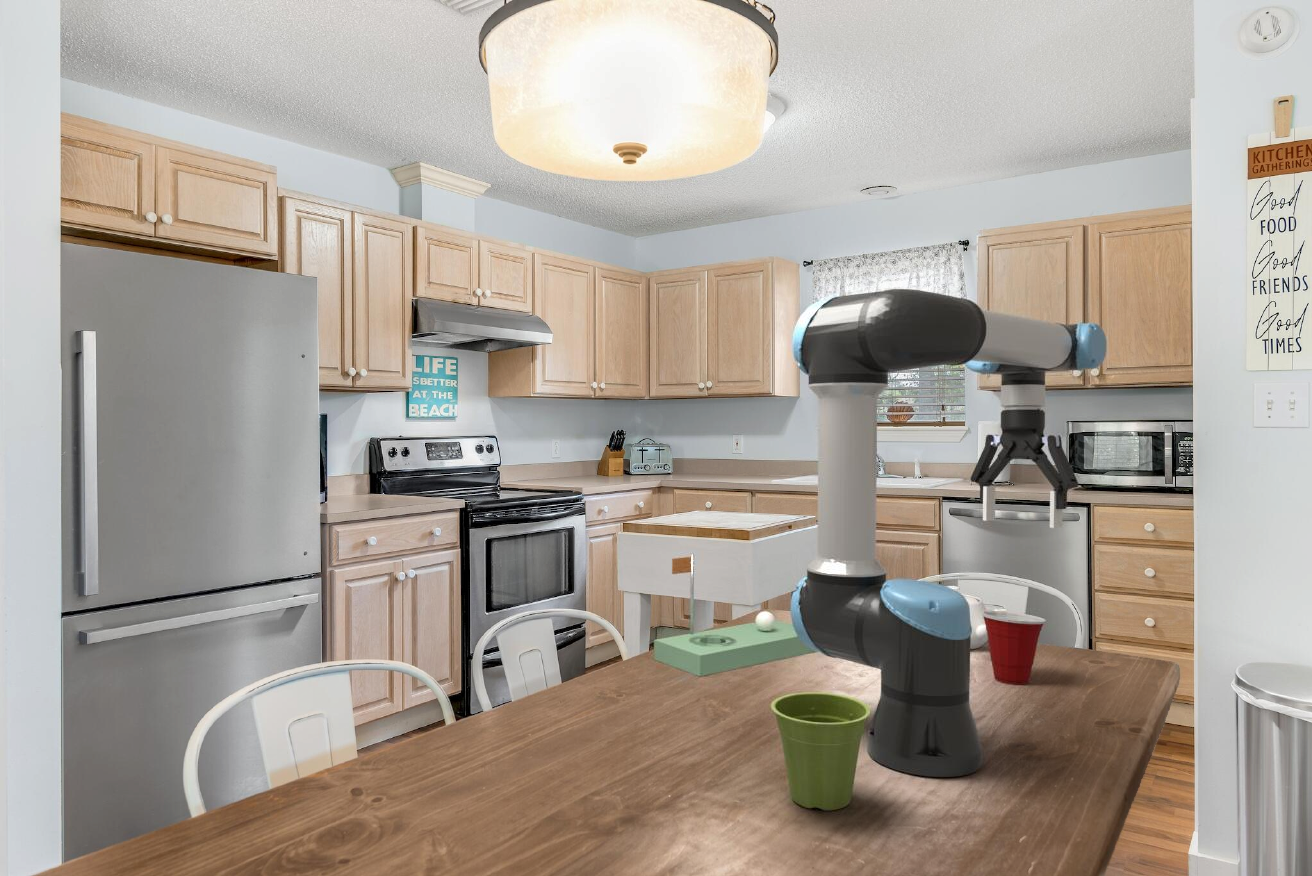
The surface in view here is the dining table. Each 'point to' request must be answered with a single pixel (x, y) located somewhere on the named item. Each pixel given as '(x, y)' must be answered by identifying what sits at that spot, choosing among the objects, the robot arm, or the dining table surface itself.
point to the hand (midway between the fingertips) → (1021, 524)
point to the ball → (765, 621)
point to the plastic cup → (1012, 644)
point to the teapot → (976, 619)
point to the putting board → (729, 648)
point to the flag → (688, 566)
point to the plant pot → (820, 746)
